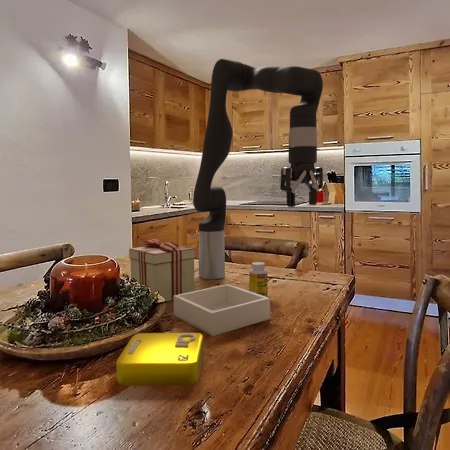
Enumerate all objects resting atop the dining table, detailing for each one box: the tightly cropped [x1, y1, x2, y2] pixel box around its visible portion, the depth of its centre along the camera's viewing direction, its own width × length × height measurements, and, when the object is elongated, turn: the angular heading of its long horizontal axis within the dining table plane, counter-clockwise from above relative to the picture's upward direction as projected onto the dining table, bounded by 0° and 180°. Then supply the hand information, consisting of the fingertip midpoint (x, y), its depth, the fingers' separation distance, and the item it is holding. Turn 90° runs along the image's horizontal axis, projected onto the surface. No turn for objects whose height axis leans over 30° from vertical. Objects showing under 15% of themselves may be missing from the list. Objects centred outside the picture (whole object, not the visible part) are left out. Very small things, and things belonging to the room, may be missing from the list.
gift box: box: [128, 238, 196, 303], centre depth 128 cm, size 17×18×17 cm
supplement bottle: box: [248, 261, 269, 297], centre depth 124 cm, size 6×6×10 cm
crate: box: [172, 283, 271, 337], centre depth 106 cm, size 18×18×6 cm
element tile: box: [115, 332, 205, 387], centre depth 80 cm, size 15×15×5 cm
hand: (302, 205), depth 111 cm, fingers open, 8 cm apart
